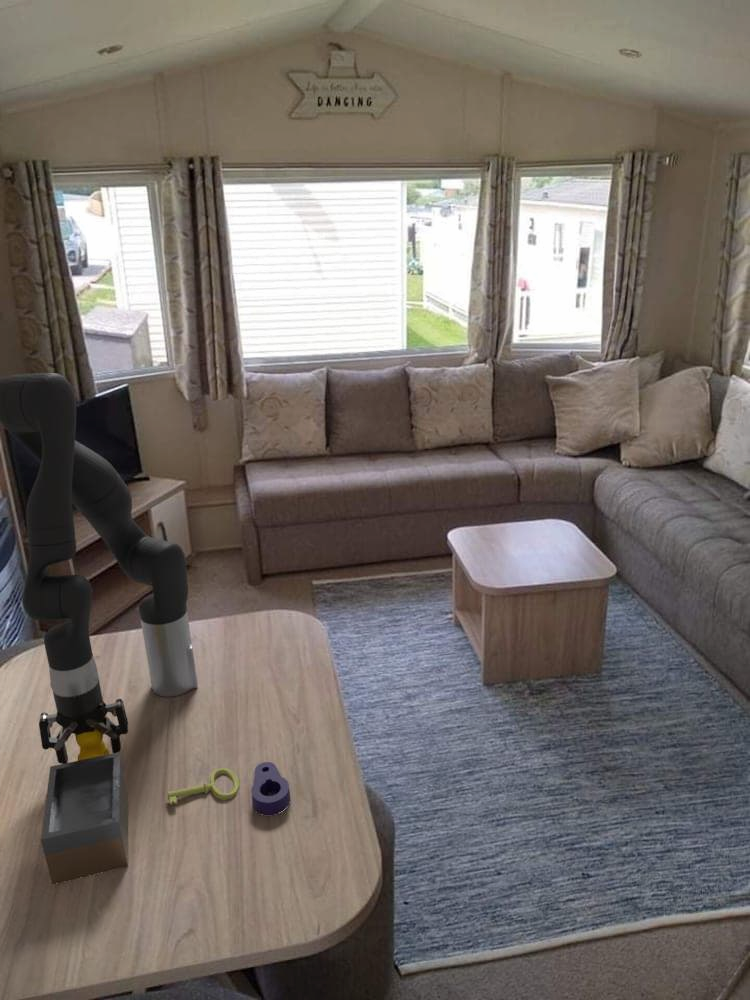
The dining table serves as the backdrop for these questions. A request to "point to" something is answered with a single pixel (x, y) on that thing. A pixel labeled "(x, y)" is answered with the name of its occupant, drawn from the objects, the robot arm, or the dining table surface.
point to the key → (208, 788)
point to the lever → (269, 790)
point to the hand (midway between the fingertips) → (90, 757)
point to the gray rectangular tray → (86, 818)
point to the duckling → (91, 745)
